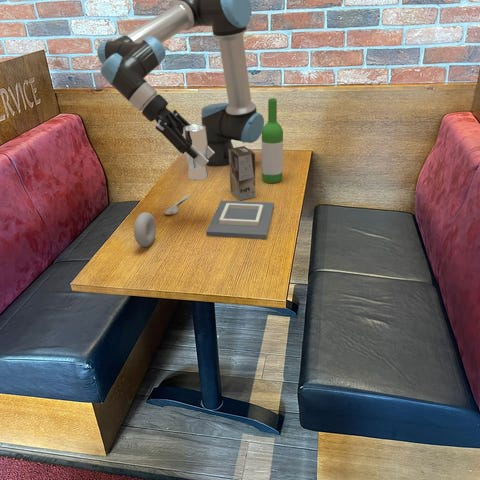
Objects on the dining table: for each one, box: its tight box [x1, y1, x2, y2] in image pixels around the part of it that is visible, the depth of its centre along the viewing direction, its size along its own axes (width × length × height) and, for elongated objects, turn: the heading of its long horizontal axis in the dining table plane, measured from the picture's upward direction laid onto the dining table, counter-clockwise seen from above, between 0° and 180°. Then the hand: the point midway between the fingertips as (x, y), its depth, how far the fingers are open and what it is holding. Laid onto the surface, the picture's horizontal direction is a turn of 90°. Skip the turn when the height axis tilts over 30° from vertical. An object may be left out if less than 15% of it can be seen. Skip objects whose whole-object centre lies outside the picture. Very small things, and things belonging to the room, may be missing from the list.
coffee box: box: [228, 145, 256, 201], centre depth 157 cm, size 9×6×16 cm
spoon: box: [164, 194, 190, 215], centre depth 155 cm, size 4×21×2 cm, turn 164°
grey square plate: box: [205, 199, 275, 240], centre depth 142 cm, size 22×18×3 cm
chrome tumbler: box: [182, 124, 209, 181], centre depth 133 cm, size 7×7×15 cm
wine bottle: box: [261, 98, 284, 184], centre depth 164 cm, size 8×8×30 cm
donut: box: [133, 211, 157, 248], centre depth 129 cm, size 10×4×10 cm, turn 167°
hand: (208, 159), depth 134 cm, fingers closed on chrome tumbler, 7 cm apart
